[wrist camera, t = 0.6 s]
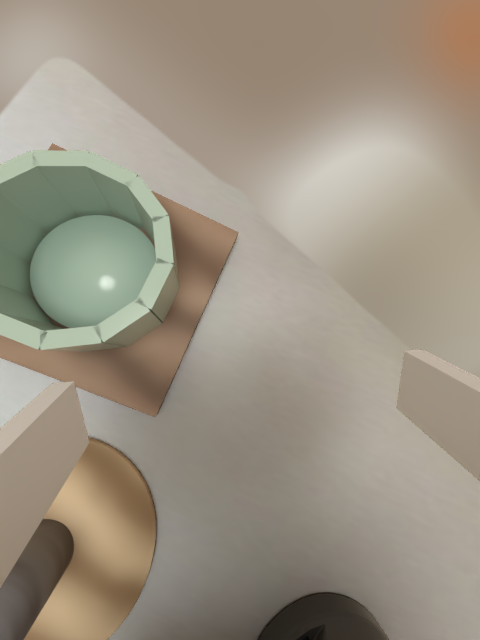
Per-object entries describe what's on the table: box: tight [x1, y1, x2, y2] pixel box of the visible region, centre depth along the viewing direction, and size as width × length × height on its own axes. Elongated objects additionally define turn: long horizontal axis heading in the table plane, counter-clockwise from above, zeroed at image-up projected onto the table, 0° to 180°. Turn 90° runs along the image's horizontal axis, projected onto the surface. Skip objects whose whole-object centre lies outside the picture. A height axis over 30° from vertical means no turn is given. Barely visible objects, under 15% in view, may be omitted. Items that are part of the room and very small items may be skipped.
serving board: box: [0, 143, 238, 417], centre depth 25 cm, size 20×20×2 cm
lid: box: [0, 437, 156, 640], centre depth 18 cm, size 18×18×10 cm
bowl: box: [0, 150, 179, 352], centre depth 21 cm, size 14×14×7 cm
